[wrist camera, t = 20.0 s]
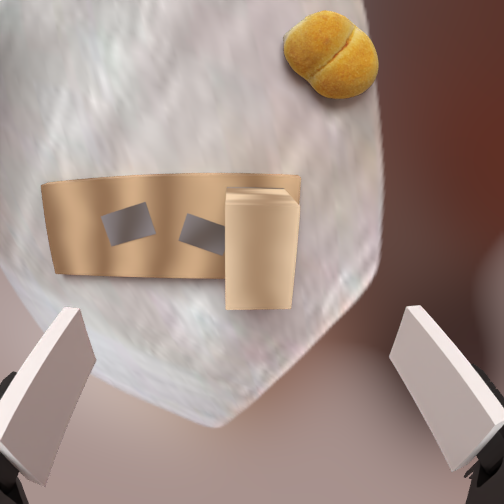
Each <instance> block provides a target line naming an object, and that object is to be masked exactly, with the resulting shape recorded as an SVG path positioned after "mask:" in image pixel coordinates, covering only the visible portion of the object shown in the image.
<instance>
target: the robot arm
mask: <svg viewBox="0 0 504 504" xmlns="http://www.w3.org/2000/svg"><path fill="white" fill-rule="evenodd" d="M389 358H390V359H391V361H392V362H393V364H394V366H395V368H396V369H397V371H398V373H399V375H400V376H401V378H402V380H403V381H404V383H405V385H406V387H407V388H408V390H409V392H410V393H411V395H412V397H413V399H414V401H415V402H416V404H417V406H418V408H419V410H420V412H421V413H422V415H423V417H424V419H425V420H426V423H427V424H428V426H429V428H430V430H431V432H432V434H433V436H434V438H435V439H436V441H437V443H438V445H439V447H440V449H441V451H442V453H443V455H444V457H445V459H446V461H447V463H448V465H449V467H450V469H451V471H452V472H453V471H456V470H458V469H459V468H462V467H464V466H465V465H467V464H468V463H469V462H470V461H471V460H472V459H473V458H474V457H475V456H477V458H478V459H479V460H478V461H477V462H476V463H475V464H474V465H473V466H472V467H471V468H470V469H469V470H468V471H467V472H466V473H465V475H464V477H465V478H466V477H467V476H468V475H469V474H470V473H472V472H473V474H472V475H471V476H470V477H469V479H472V480H471V485H470V489H469V493H468V497H467V500H466V504H504V397H503V396H502V394H500V392H499V390H498V389H496V387H495V386H494V384H493V383H492V382H490V379H489V378H488V376H487V375H486V374H485V373H484V371H483V370H481V369H480V368H478V367H477V366H476V365H474V364H470V363H469V362H468V361H467V359H466V358H465V357H464V356H463V354H462V353H461V352H460V351H459V349H458V348H457V347H456V346H455V345H454V344H453V342H452V341H451V340H450V339H449V338H448V336H447V335H446V334H445V333H444V332H443V331H442V329H441V328H440V327H439V326H438V325H437V324H436V322H435V321H434V320H433V319H432V318H431V317H430V316H429V315H428V313H427V312H426V311H425V310H424V309H423V308H422V307H421V306H420V305H419V306H408V307H406V309H405V312H404V315H403V319H402V322H401V325H400V328H399V330H398V333H397V336H396V339H395V342H394V345H393V348H392V350H391V353H390V356H389ZM95 362H96V358H95V355H94V352H93V349H92V346H91V343H90V340H89V337H88V334H87V331H86V328H85V324H84V321H83V318H82V314H81V311H80V308H72V307H64V308H63V309H62V311H61V312H60V313H59V315H58V316H57V317H56V319H55V320H54V321H53V323H52V324H51V325H50V327H49V328H48V329H47V331H46V332H45V333H44V335H43V336H42V338H41V339H40V340H39V342H38V343H37V345H36V346H35V348H34V349H33V350H32V352H31V353H30V355H29V356H28V358H27V359H26V361H25V362H24V363H23V365H22V366H21V368H20V370H19V371H18V373H16V372H12V373H11V374H10V375H8V376H7V377H6V378H5V379H4V380H3V381H2V382H1V384H0V504H29V503H28V500H27V498H26V495H25V492H24V490H23V487H22V484H21V482H20V480H19V478H18V477H17V476H18V473H19V472H20V473H21V474H22V475H23V476H25V477H26V478H27V479H28V480H30V481H32V482H35V483H37V484H39V485H42V486H44V487H45V486H46V483H47V480H48V477H49V474H50V471H51V468H52V466H53V463H54V460H55V457H56V454H57V452H58V449H59V446H60V444H61V441H62V439H63V436H64V433H65V431H66V428H67V426H68V423H69V421H70V418H71V416H72V413H73V411H74V409H75V406H76V404H77V402H78V399H79V397H80V395H81V392H82V390H83V388H84V386H85V383H86V381H87V379H88V377H89V375H90V373H91V371H92V368H93V366H94V364H95Z"/></svg>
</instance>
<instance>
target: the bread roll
mask: <svg viewBox="0 0 504 504" xmlns="http://www.w3.org/2000/svg"><path fill="white" fill-rule="evenodd" d="M283 41H284V55H285V58H286V60H287V61H288V63H289V65H290V66H291V68H292V69H293V70H294V71H295V72H296V73H298V74H299V75H300V76H302V77H303V78H304V79H306V80H307V81H308V82H309V83H310V84H311V86H312V87H313V88H314V89H315V90H316V91H317V92H318V93H319V94H321V95H322V96H324V97H327V98H334V99H344V98H350V97H354V96H357V95H359V94H361V93H363V92H365V91H366V90H367V89H368V88H369V87H370V86H371V85H372V84H373V82H374V81H375V78H376V75H377V72H378V57H377V53H376V50H375V48H374V46H373V43H372V42H371V40H370V39H369V37H368V36H367V35H366V34H365V33H364V32H362V31H361V30H360V29H359V28H358V27H356V26H355V25H354V24H353V23H352V22H351V21H350V20H349V19H347V18H346V17H345V16H343V15H340V14H338V13H336V12H332V11H321V12H317V13H314V14H311V15H308V16H307V17H306V18H305V19H303V20H301V22H299V23H298V24H297V25H296V26H294V27H293V28H292V29H291V30H290V31H289V32H287V33H286V34H285V35H284V37H283Z"/></svg>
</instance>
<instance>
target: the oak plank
mask: <svg viewBox="0 0 504 504" xmlns="http://www.w3.org/2000/svg"><path fill="white" fill-rule="evenodd" d="M300 184H301V177H299V176H298V175H282V174H250V173H182V174H151V175H130V176H114V177H100V178H88V179H77V180H67V181H57V182H49V183H46V184H43V185H41V192H42V200H43V208H44V215H45V222H46V228H47V234H48V240H49V245H50V250H51V255H52V260H53V265H54V269H55V273H56V274H70V275H93V276H121V277H156V278H210V279H225V201H226V191H227V187H263V188H284V189H285V190H286V191H287V193H288V194H289V195H290V196H291V197H292V198H293V199H294V200H295V201H296V202H297V203H298V205H299V199H300Z"/></svg>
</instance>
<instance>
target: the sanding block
mask: <svg viewBox="0 0 504 504" xmlns="http://www.w3.org/2000/svg"><path fill="white" fill-rule="evenodd" d="M299 218H300V206H299V205H298V203H297V202H296V201H295V200H294V199H293V198H292V197H291V196H290V195H289V194H288V193H287V191H286V190H285V189H284V188H263V187H227V191H226V201H225V299H226V310H257V309H291V304H292V294H293V285H294V275H295V264H296V253H297V242H298V230H299Z"/></svg>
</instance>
